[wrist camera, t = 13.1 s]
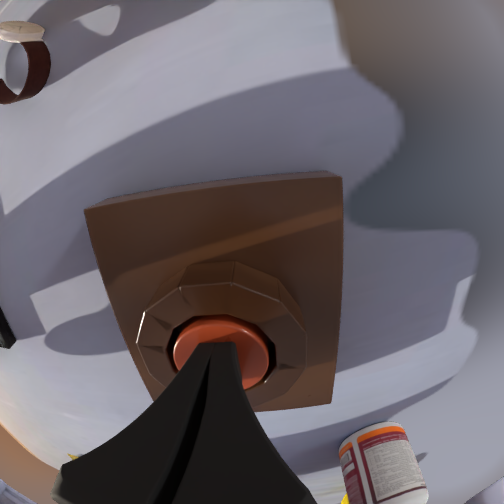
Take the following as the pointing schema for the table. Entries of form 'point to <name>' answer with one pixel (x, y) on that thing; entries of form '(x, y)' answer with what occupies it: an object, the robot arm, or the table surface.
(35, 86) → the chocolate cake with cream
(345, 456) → the pill bottle
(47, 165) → the table surface
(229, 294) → the button block
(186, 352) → the press button
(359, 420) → the table surface
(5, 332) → the lever stand
